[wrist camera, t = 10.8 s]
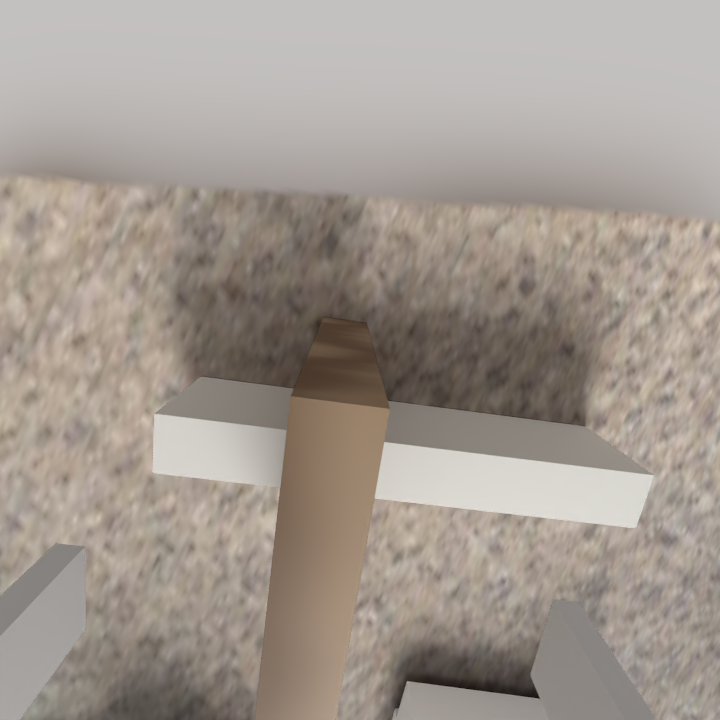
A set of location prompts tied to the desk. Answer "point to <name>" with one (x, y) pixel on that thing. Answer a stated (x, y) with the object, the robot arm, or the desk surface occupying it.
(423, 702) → the bracket
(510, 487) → the notched rail
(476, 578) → the desk surface
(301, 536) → the walnut tab
